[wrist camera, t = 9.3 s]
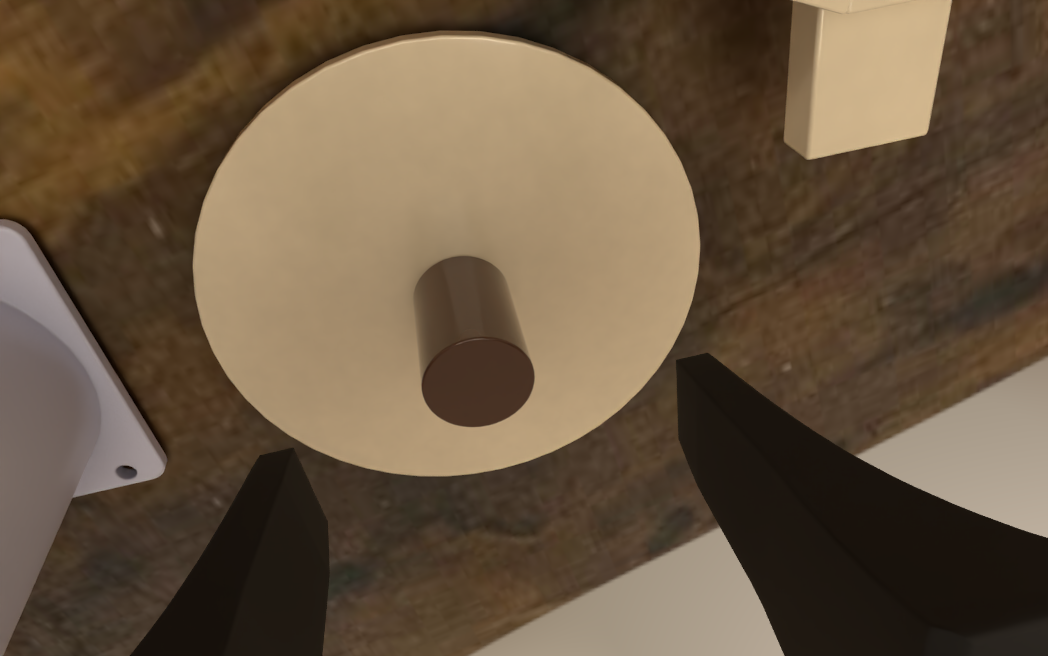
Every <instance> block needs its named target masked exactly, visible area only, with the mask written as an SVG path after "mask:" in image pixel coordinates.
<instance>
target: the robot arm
mask: <svg viewBox="0 0 1048 656" xmlns="http://www.w3.org/2000/svg"><path fill="white" fill-rule="evenodd" d="M676 371H677V403H678V435H679V441H680V443H681V446H682V449H683V451H684V454H685V456H686V459H687V461H688V464H689V466H690V469H691V471H692V474H693V476H694V479H695V481H696V483H697V486H698V487H699V489H700V491H701V493H702V495H703V497H704V499H705V500H706V502H707V504H708V506H709V508H710V510H711V511H712V513H713V515H714V517H715V519H716V520H717V522H718V524H719V526H720V528H721V529H722V531H723V533H724V535H725V536H726V538H727V540H728V542H729V544H730V545H731V547H732V549H733V551H734V553H735V554H736V556H737V558H738V560H739V562H740V563H741V565H742V567H743V569H744V571H745V572H746V574H747V576H748V578H749V579H750V581H751V583H752V585H753V587H754V589H755V591H756V593H757V595H758V597H759V599H760V601H761V603H762V605H763V607H764V609H765V612H766V614H767V616H768V619H769V621H770V623H771V626H772V628H773V630H774V632H775V635H776V637H777V640H778V642H779V644H780V646H781V649H782V651H783V653H784V655H785V656H1048V538H1046V537H1043V536H1039V535H1036V534H1033V533H1029V532H1026V531H1024V530H1021V529H1018V528H1015V527H1012V526H1010V525H1007V524H1004V523H1001V522H999V521H996V520H993V519H991V518H988V517H985V516H982V515H979V514H977V513H975V512H972V511H970V510H967V509H965V508H962V507H960V506H957V505H955V504H952V503H950V502H948V501H945V500H943V499H941V498H939V497H936V496H934V495H932V494H930V493H927V492H925V491H923V490H921V489H918V488H916V487H914V486H912V485H910V484H907V483H906V482H903V481H901V480H899V479H897V478H895V477H893V476H891V475H889V474H887V473H885V472H884V471H882V470H880V469H878V468H876V467H874V466H872V465H870V464H868V463H867V462H865V461H863V460H861V459H859V458H857V457H855V456H854V455H852V454H850V453H849V452H847V451H845V450H843V449H842V448H840V447H838V446H837V445H835V444H834V443H832V442H830V441H829V440H827V439H826V438H824V437H822V436H821V435H819V434H818V433H816V432H815V431H813V430H812V429H810V428H809V427H807V426H806V425H804V424H803V423H801V422H800V421H798V420H797V419H795V418H794V417H793V416H791V415H790V414H788V413H787V412H785V411H784V410H783V409H781V408H780V407H778V406H777V405H776V404H774V403H773V402H771V401H770V400H769V399H767V398H766V397H765V396H763V395H762V394H761V393H759V392H758V391H757V390H755V389H754V388H753V387H751V386H750V385H749V384H747V383H746V382H745V381H744V380H742V379H741V378H740V377H738V376H737V375H736V374H735V373H733V372H732V371H731V370H730V369H728V368H727V367H726V366H724V365H723V364H722V363H721V362H719V361H718V360H717V359H716V358H714V357H713V356H711V355H710V354H709V353H705V354H700V355H696V356H692V357H687V358H683V359H679V360H676ZM166 463H167V457H166V455H165V453H164V451H163V450H162V448H161V446H160V445H159V443H158V441H157V440H156V438H155V437H154V435H153V433H152V432H151V430H150V428H149V427H148V425H147V423H146V422H145V420H144V418H143V417H142V415H141V414H140V412H139V410H138V409H137V407H136V405H135V404H134V402H133V400H132V399H131V397H130V396H129V394H128V392H127V391H126V389H125V387H124V386H123V384H122V382H121V381H120V379H119V378H118V376H117V374H116V373H115V371H114V369H113V368H112V366H111V364H110V363H109V361H108V359H107V358H106V356H105V355H104V353H103V351H102V350H101V348H100V346H99V345H98V343H97V341H96V340H95V338H94V337H93V335H92V333H91V332H90V330H89V328H88V327H87V325H86V323H85V322H84V320H83V319H82V317H81V315H80V314H79V312H78V310H77V309H76V307H75V305H74V304H73V302H72V301H71V299H70V297H69V296H68V294H67V292H66V291H65V289H64V287H63V286H62V284H61V282H60V281H59V279H58V278H57V276H56V274H55V273H54V271H53V269H52V268H51V266H50V264H49V263H48V261H47V260H46V258H45V256H44V255H43V253H42V251H41V250H40V248H39V246H38V245H37V243H36V242H35V240H34V238H33V237H32V235H31V234H30V233H29V232H28V230H27V229H26V228H25V227H23V226H22V225H20V224H18V223H17V222H14V221H10V220H7V219H0V656H3V655H4V652H5V650H6V648H7V646H8V643H9V641H10V639H11V636H12V634H13V632H14V630H15V627H16V625H17V623H18V621H19V618H20V616H21V614H22V611H23V609H24V607H25V605H26V602H27V600H28V598H29V595H30V593H31V591H32V589H33V586H34V584H35V582H36V580H37V577H38V575H39V573H40V570H41V568H42V566H43V564H44V561H45V559H46V557H47V554H48V552H49V550H50V548H51V545H52V543H53V541H54V539H55V536H56V534H57V532H58V529H59V527H60V525H61V523H62V520H63V518H64V516H65V513H66V511H67V509H68V507H69V504H70V502H71V500H72V498H73V497H78V496H82V495H86V494H91V493H95V492H100V491H104V490H108V489H113V488H117V487H121V486H126V485H130V484H135V483H139V482H143V481H148V480H152V479H155V478H158V477H160V476H161V475H162V474H163V473H164V470H165V467H166ZM122 465H128V466H131V467H133V468H134V469H128V468H125V467H123V466H122ZM329 574H330V572H329V541H328V521H327V519H326V517H325V515H324V513H323V510H322V508H321V506H320V504H319V502H318V500H317V498H316V495H315V493H314V491H313V489H312V487H311V485H310V482H309V480H308V478H307V476H306V474H305V472H304V470H303V467H302V465H301V463H300V461H299V459H298V457H297V455H296V452H295V450H294V448H290V449H286V450H281V451H277V452H273V453H268V454H264V455H260V456H259V458H258V459H257V461H256V462H255V464H254V466H253V467H252V469H251V471H250V473H249V474H248V476H247V478H246V480H245V482H244V483H243V485H242V487H241V489H240V491H239V492H238V494H237V496H236V498H235V499H234V501H233V503H232V505H231V506H230V508H229V510H228V512H227V513H226V515H225V517H224V519H223V520H222V522H221V524H220V525H219V527H218V529H217V530H216V532H215V534H214V535H213V537H212V539H211V540H210V542H209V544H208V545H207V547H206V549H205V550H204V552H203V554H202V555H201V557H200V558H199V560H198V562H197V563H196V565H195V566H194V568H193V569H192V571H191V572H190V574H189V575H188V577H187V578H186V580H185V581H184V583H183V584H182V586H181V587H180V589H179V590H178V592H177V593H176V595H175V596H174V598H173V599H172V601H171V602H170V603H169V605H168V606H167V608H166V609H165V610H164V612H163V613H162V615H161V616H160V617H159V619H158V620H157V621H156V623H155V624H154V625H153V627H152V628H151V629H150V631H149V632H148V633H147V635H146V636H145V637H144V639H143V640H142V641H141V642H140V644H139V645H138V646H137V647H136V649H135V650H134V651H133V653H132V654H131V655H130V656H322V652H323V641H324V631H325V620H326V609H327V598H328V586H329Z"/></svg>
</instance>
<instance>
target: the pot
mask: <svg viewBox="0 0 1048 656" xmlns="http://www.w3.org/2000/svg"><path fill="white" fill-rule="evenodd" d="M791 1H793V6H792V21H791V36H790V51H789V66H788V81H787V96H786V111H785V126H784V142H785V144H787V145H788V146H789V147H790V148H792V149H793V150H794V151H796V152H797V153H798V154H800V155H801V156H802V157H804V158H805V159H808V160H811V159H815V158H820V157H825V156H829V155H834V154H839V153H843V152H848V151H853V150H857V149H862V148H867V147H871V146H876V145H881V144H886V143H890V142H895V141H900V140H904V139H909V138H914V137H918V136H923V135H925V134H927V132H928V128H929V122H930V117H931V112H932V106H933V101H934V95H935V90H936V85H937V79H938V74H939V69H940V63H941V58H942V52H943V47H944V42H945V36H946V31H947V25H948V20H949V15H950V9H951V4H952V0H791Z"/></svg>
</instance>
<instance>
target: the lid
mask: <svg viewBox="0 0 1048 656" xmlns="http://www.w3.org/2000/svg"><path fill="white" fill-rule="evenodd" d="M699 255H700V234H699V221H698V213H697V209H696V205H695V200H694V196H693V192H692V188H691V185H690V183H689V180H688V178H687V175H686V173H685V170H684V168H683V165H682V163H681V160H680V159H679V157H678V155H677V153H676V152H675V150H674V148H673V147H672V145H671V143H670V142H669V140H668V138H667V137H666V135H665V133H664V132H663V131H662V130H661V129H660V127H659V126H658V125H657V124H656V122H655V121H654V120H653V119H652V118H651V116H650V115H649V114H648V113H647V111H646V110H645V109H644V108H643V107H642V106H641V105H640V104H639V103H638V102H637V101H636V100H634V99H633V98H632V97H631V96H630V95H629V94H628V93H627V92H626V91H624V90H623V89H622V88H621V87H620V86H619V85H618V84H617V83H616V82H614V81H613V80H611V79H610V78H608V77H607V76H605V75H604V74H602V73H601V72H599V71H598V70H596V69H594V68H593V67H591V66H590V65H588V64H587V63H585V62H583V61H581V60H579V59H577V58H574V57H572V56H570V55H568V54H566V53H564V52H562V51H559V50H557V49H555V48H553V47H549V46H546V45H543V44H539V43H536V42H533V41H529V40H526V39H523V38H519V37H515V36H508V35H502V34H495V33H489V32H482V31H433V32H425V33H417V34H409V35H401V36H397V37H394V38H390V39H386V40H382V41H379V42H375V43H371V44H368V45H364V46H361V47H359V48H356V49H354V50H352V51H349V52H347V53H345V54H342V55H340V56H338V57H335V58H333V59H331V60H328V61H326V62H324V63H323V64H321V65H319V66H318V67H316V68H314V69H313V70H311V71H309V72H308V73H306V74H304V75H303V76H301V77H300V78H298V79H296V80H295V81H293V82H292V83H291V84H289V85H288V86H287V87H286V88H284V89H283V90H282V91H281V92H280V93H278V94H277V95H276V96H275V97H274V98H272V99H271V100H270V101H269V102H268V103H266V104H265V105H264V106H263V107H262V108H261V109H260V110H259V112H258V113H257V114H256V115H255V116H254V117H253V118H252V119H251V120H250V122H249V123H248V124H247V125H246V126H245V127H244V128H243V129H242V131H241V132H240V133H239V134H238V136H237V137H236V139H235V140H234V142H233V144H232V145H231V147H230V148H229V150H228V151H227V153H226V154H225V156H224V157H223V159H222V161H221V162H220V164H219V166H218V169H217V171H216V173H215V176H214V178H213V180H212V182H211V185H210V187H209V189H208V191H207V194H206V196H205V198H204V200H203V204H202V208H201V212H200V216H199V220H198V224H197V227H196V231H195V240H194V251H193V262H192V266H193V280H194V294H195V299H196V303H197V307H198V311H199V316H200V320H201V324H202V326H203V329H204V331H205V334H206V336H207V339H208V341H209V344H210V346H211V349H212V351H213V353H214V354H215V356H216V358H217V360H218V361H219V363H220V365H221V366H222V368H223V370H224V371H225V373H226V375H227V376H228V378H229V379H230V380H231V381H232V383H233V384H234V385H235V386H236V388H237V389H238V390H239V391H240V393H241V394H242V395H243V396H244V398H245V399H246V400H247V401H248V402H249V403H250V404H251V405H252V406H254V407H255V408H256V409H257V410H258V411H259V412H260V413H261V414H262V415H263V416H264V417H265V418H266V419H268V420H269V421H270V422H272V423H273V424H274V425H276V426H277V427H278V428H280V429H281V430H282V431H284V432H285V433H286V434H288V435H289V436H291V437H293V438H295V439H296V440H298V441H300V442H302V443H303V444H305V445H307V446H309V447H310V448H312V449H314V450H317V451H319V452H321V453H324V454H326V455H328V456H331V457H333V458H335V459H338V460H340V461H344V462H347V463H350V464H353V465H357V466H360V467H363V468H367V469H372V470H377V471H382V472H387V473H392V474H402V475H413V476H456V475H467V474H476V473H482V472H487V471H492V470H498V469H503V468H506V467H510V466H513V465H517V464H520V463H524V462H527V461H530V460H533V459H535V458H538V457H540V456H543V455H545V454H548V453H551V452H553V451H555V450H557V449H559V448H561V447H563V446H565V445H567V444H569V443H571V442H573V441H575V440H577V439H579V438H580V437H582V436H583V435H585V434H587V433H588V432H590V431H591V430H593V429H595V428H596V427H598V426H599V425H601V424H602V423H603V422H605V421H606V420H607V419H608V418H610V417H611V416H612V415H614V414H615V413H616V412H617V411H619V410H620V409H621V408H622V407H623V406H624V405H625V404H626V403H627V402H629V401H630V400H631V399H632V398H633V397H634V396H635V395H636V394H637V393H638V392H639V391H640V390H641V389H642V388H643V386H644V385H645V384H646V383H647V382H648V380H649V379H650V378H651V377H652V376H653V374H654V373H655V372H656V371H657V370H658V368H659V367H660V365H661V364H662V362H663V361H664V359H665V358H666V356H667V354H668V353H669V351H670V350H671V348H672V347H673V345H674V343H675V341H676V339H677V337H678V335H679V333H680V331H681V329H682V327H683V325H684V322H685V319H686V317H687V314H688V311H689V308H690V305H691V302H692V300H693V295H694V291H695V286H696V281H697V276H698V270H699Z"/></svg>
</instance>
